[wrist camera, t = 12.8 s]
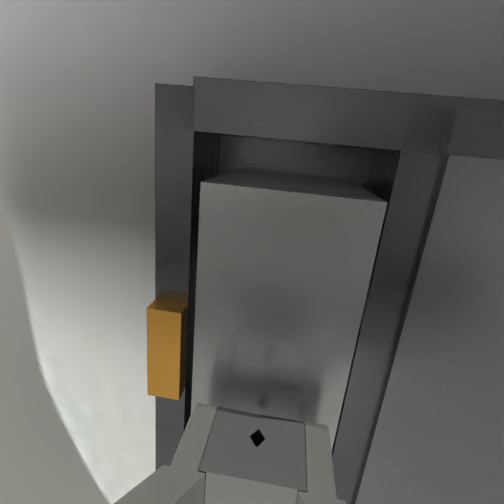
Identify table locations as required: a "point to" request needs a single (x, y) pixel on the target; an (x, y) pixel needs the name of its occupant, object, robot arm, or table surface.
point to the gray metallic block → (281, 291)
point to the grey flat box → (382, 277)
